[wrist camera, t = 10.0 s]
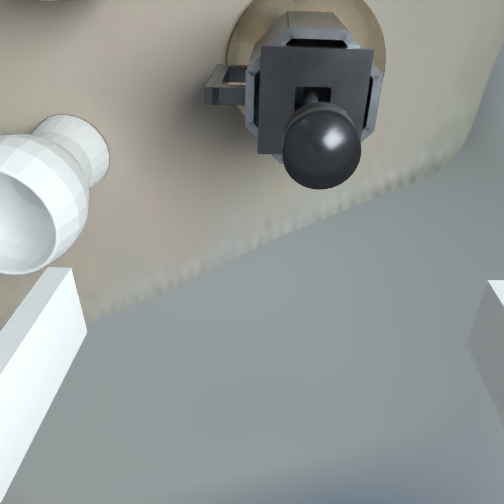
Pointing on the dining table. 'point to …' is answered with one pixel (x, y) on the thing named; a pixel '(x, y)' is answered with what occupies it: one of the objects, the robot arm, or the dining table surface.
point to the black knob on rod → (319, 136)
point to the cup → (46, 190)
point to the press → (300, 64)
